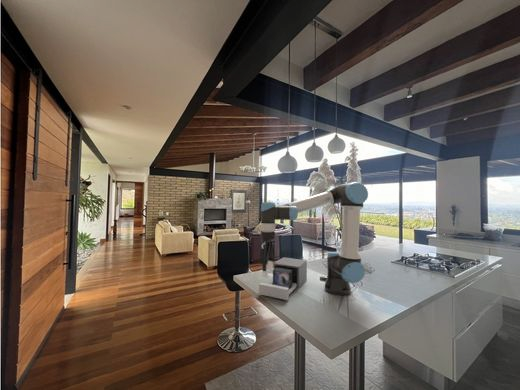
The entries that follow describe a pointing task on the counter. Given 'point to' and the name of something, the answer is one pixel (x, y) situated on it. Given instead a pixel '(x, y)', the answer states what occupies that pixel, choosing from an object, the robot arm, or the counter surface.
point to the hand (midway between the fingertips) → (267, 274)
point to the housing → (294, 269)
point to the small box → (282, 277)
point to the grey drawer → (276, 290)
